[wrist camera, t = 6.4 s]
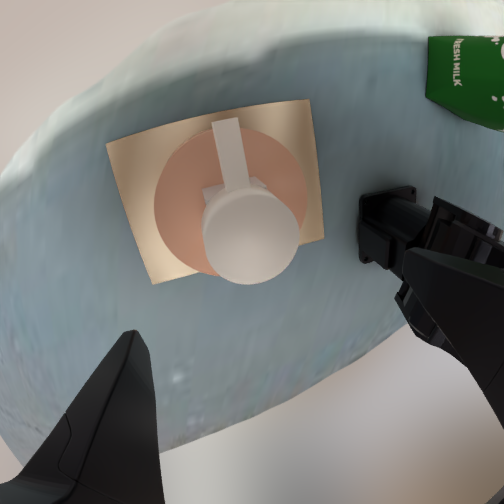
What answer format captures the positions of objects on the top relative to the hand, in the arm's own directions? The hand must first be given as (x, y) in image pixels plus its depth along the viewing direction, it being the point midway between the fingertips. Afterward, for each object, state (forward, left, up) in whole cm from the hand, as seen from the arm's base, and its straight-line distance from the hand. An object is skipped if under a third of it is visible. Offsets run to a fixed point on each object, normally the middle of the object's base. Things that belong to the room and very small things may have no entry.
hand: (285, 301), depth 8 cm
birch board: (0, 0, -13) cm, 13 cm away
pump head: (0, -2, -9) cm, 9 cm away
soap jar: (0, 0, -13) cm, 13 cm away
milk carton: (-24, -8, -13) cm, 29 cm away
